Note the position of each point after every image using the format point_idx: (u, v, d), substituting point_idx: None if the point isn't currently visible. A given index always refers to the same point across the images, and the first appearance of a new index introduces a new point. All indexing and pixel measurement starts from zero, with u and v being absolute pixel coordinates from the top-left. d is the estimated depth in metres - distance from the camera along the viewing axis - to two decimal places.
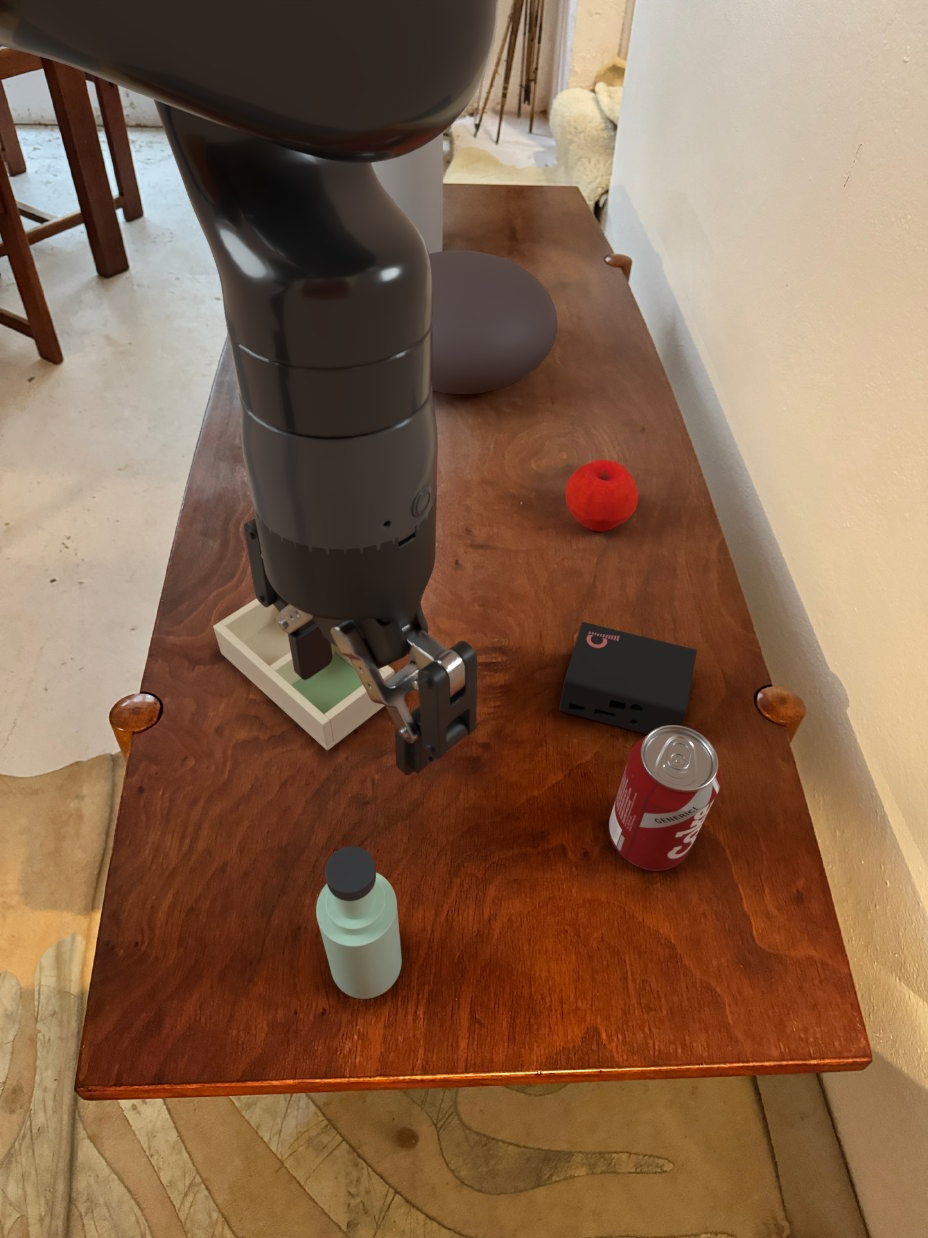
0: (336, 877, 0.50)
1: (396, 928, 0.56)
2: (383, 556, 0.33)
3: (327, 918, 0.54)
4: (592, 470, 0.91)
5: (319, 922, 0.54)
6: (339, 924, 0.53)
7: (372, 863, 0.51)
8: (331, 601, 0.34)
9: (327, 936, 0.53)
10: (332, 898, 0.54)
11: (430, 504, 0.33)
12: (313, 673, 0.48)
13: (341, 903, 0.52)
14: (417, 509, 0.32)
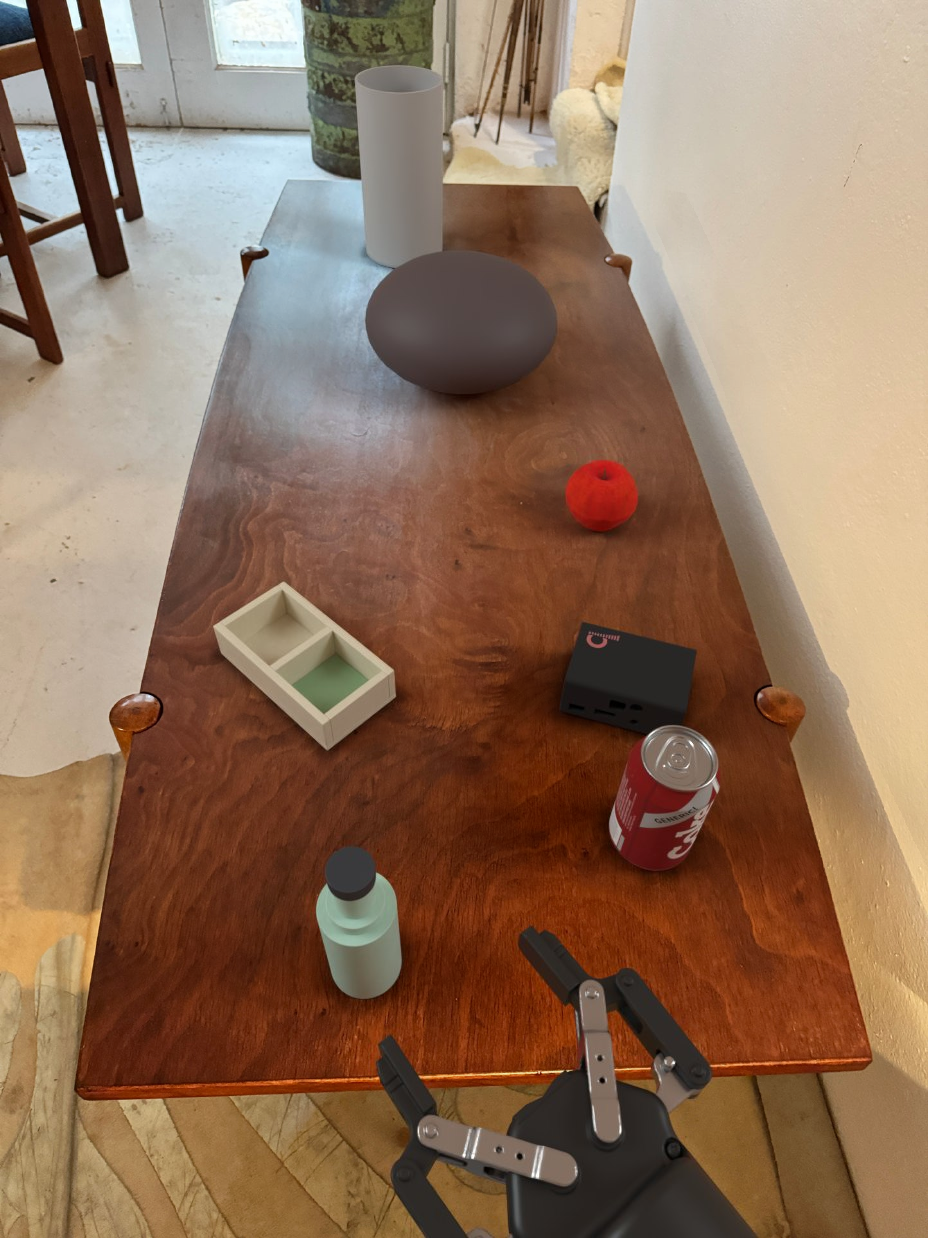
0: (336, 877, 0.50)
1: (396, 928, 0.56)
2: None
3: (327, 918, 0.54)
4: (592, 470, 0.91)
5: (319, 922, 0.54)
6: (339, 924, 0.53)
7: (372, 863, 0.51)
8: None
9: (327, 936, 0.53)
10: (332, 898, 0.54)
11: None
12: (521, 939, 0.43)
13: (341, 903, 0.52)
14: None
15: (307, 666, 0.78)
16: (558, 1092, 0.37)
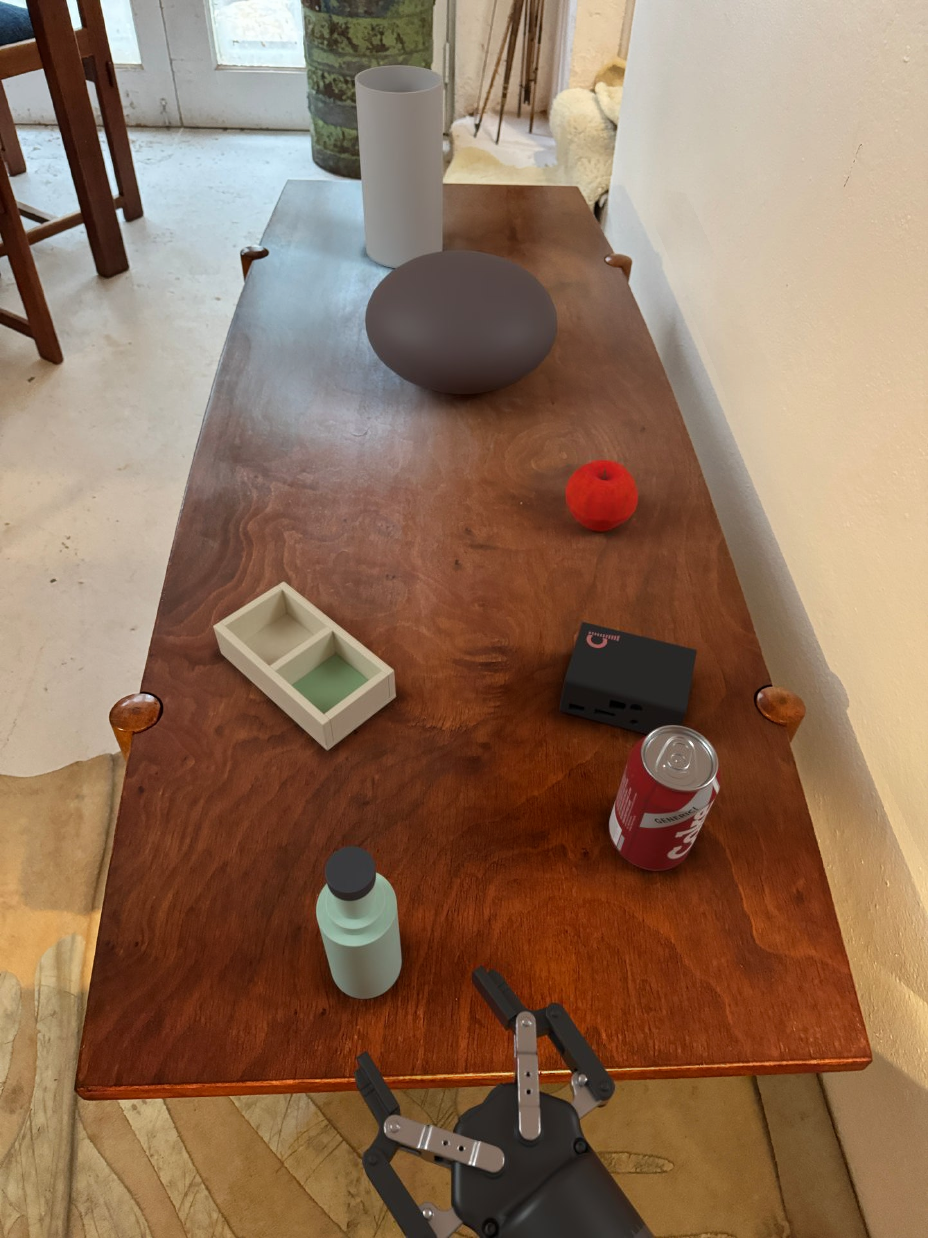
0: (336, 877, 0.50)
1: (396, 928, 0.56)
2: None
3: (327, 918, 0.54)
4: (592, 470, 0.91)
5: (319, 922, 0.54)
6: (339, 924, 0.53)
7: (372, 863, 0.51)
8: None
9: (327, 936, 0.53)
10: (332, 898, 0.54)
11: None
12: (473, 976, 0.54)
13: (341, 903, 0.52)
14: None
15: (307, 666, 0.78)
16: (494, 1100, 0.48)
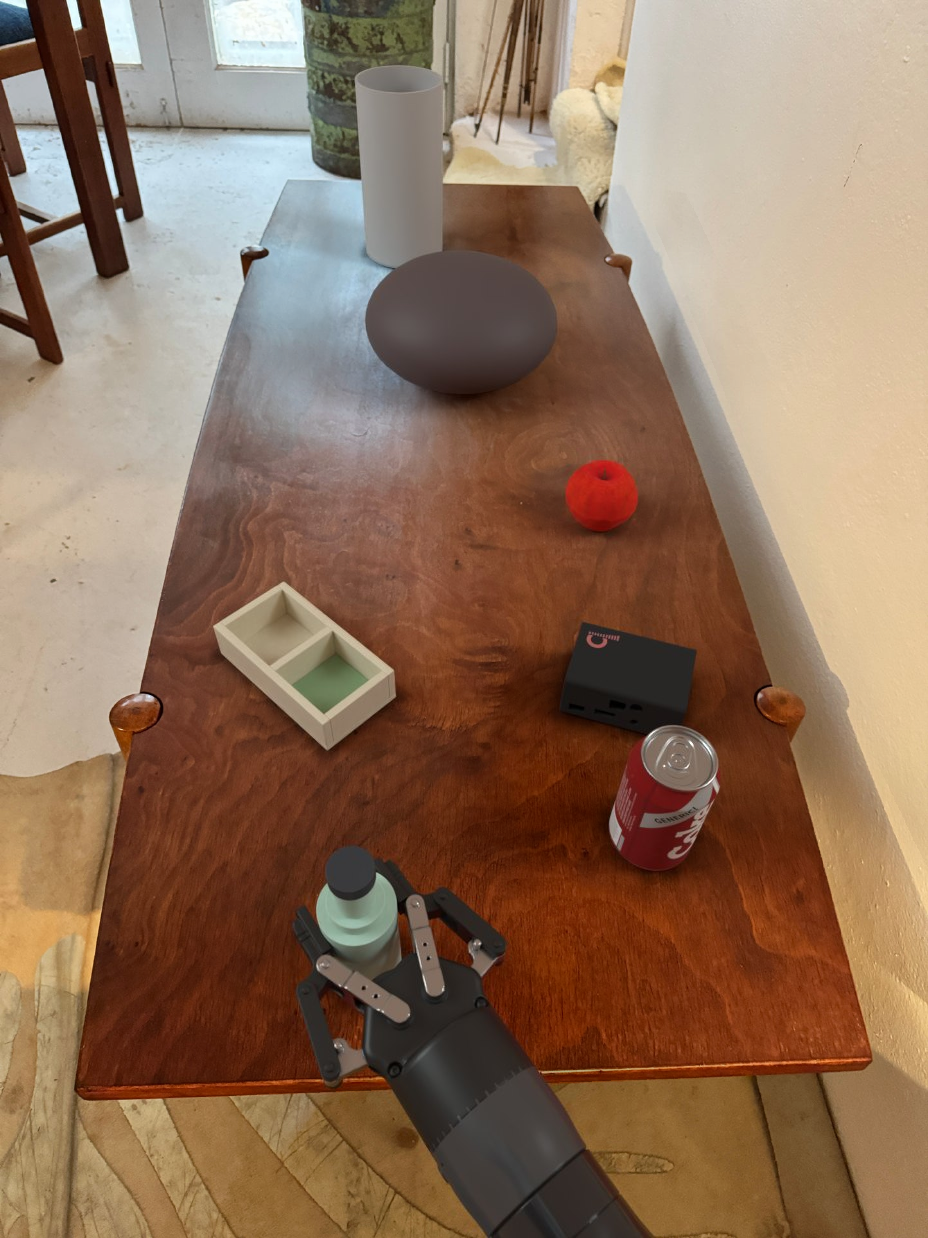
0: (336, 876, 0.50)
1: (396, 928, 0.56)
2: (427, 1138, 0.47)
3: (327, 918, 0.54)
4: (592, 470, 0.91)
5: (319, 922, 0.54)
6: (339, 924, 0.53)
7: (372, 862, 0.51)
8: (422, 1080, 0.47)
9: (327, 936, 0.53)
10: (332, 898, 0.54)
11: None
12: None
13: (341, 902, 0.52)
14: None
15: (307, 666, 0.78)
16: (405, 965, 0.53)
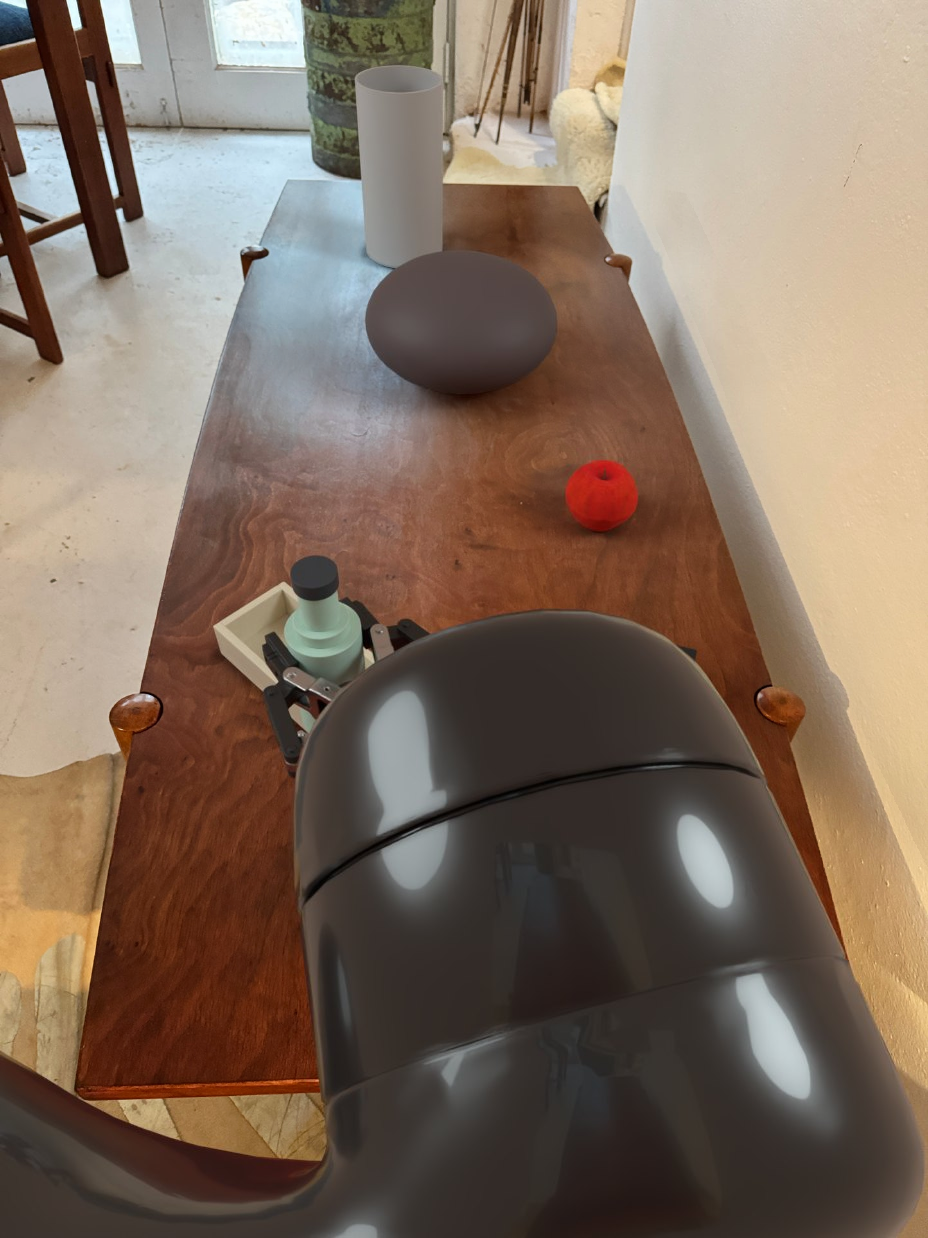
0: (300, 576, 0.53)
1: (361, 655, 0.59)
2: None
3: (294, 636, 0.57)
4: (592, 470, 0.91)
5: (286, 639, 0.57)
6: (305, 635, 0.56)
7: (335, 567, 0.54)
8: None
9: (294, 650, 0.56)
10: (299, 616, 0.57)
11: None
12: None
13: (306, 608, 0.54)
14: None
15: None
16: None
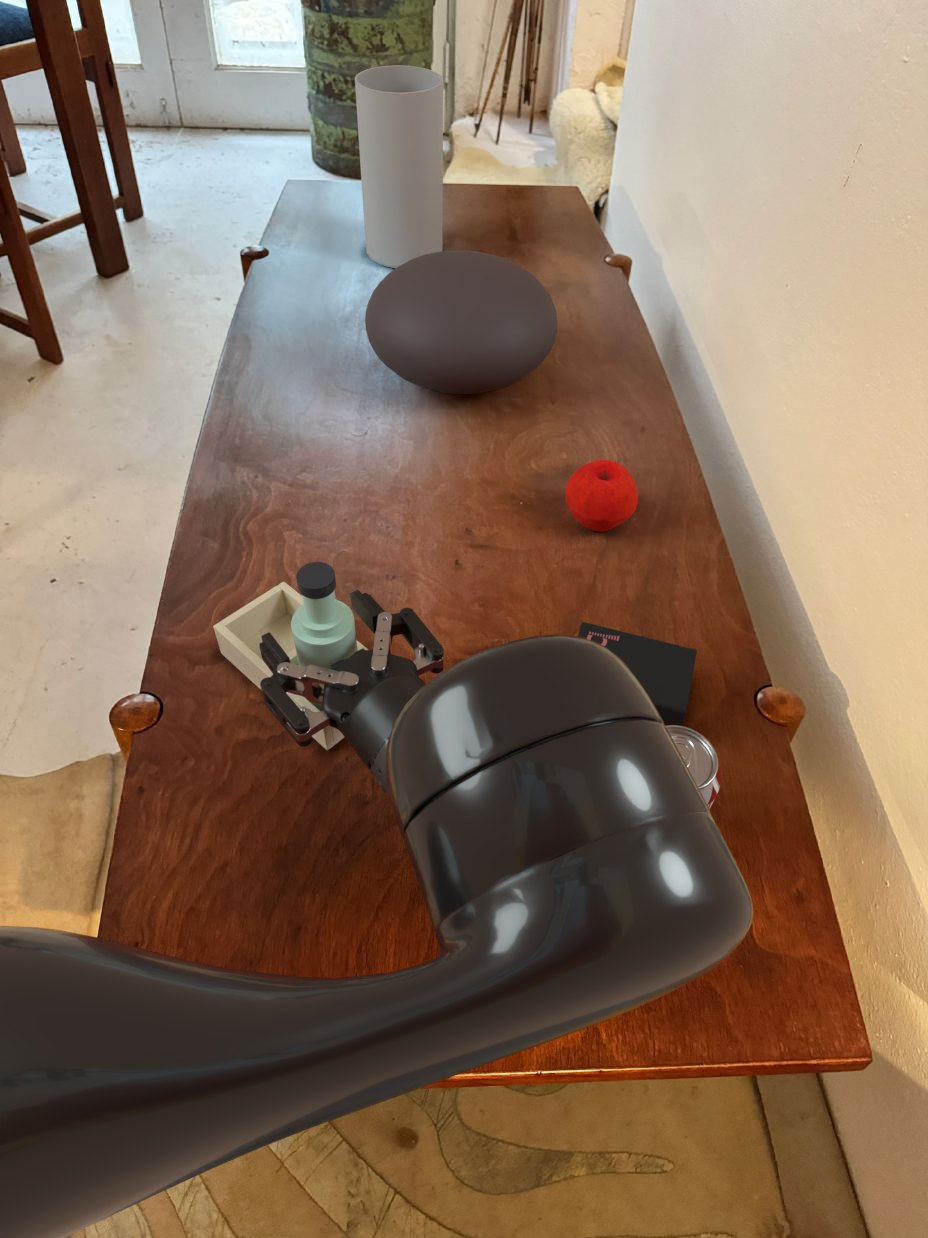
0: (305, 579, 0.66)
1: (354, 643, 0.71)
2: (368, 755, 0.62)
3: (299, 627, 0.70)
4: (592, 470, 0.91)
5: (293, 630, 0.69)
6: (308, 627, 0.68)
7: (332, 571, 0.66)
8: (365, 713, 0.62)
9: (299, 639, 0.69)
10: (303, 611, 0.69)
11: None
12: (351, 598, 0.74)
13: (309, 604, 0.67)
14: (379, 784, 0.62)
15: None
16: (357, 656, 0.68)
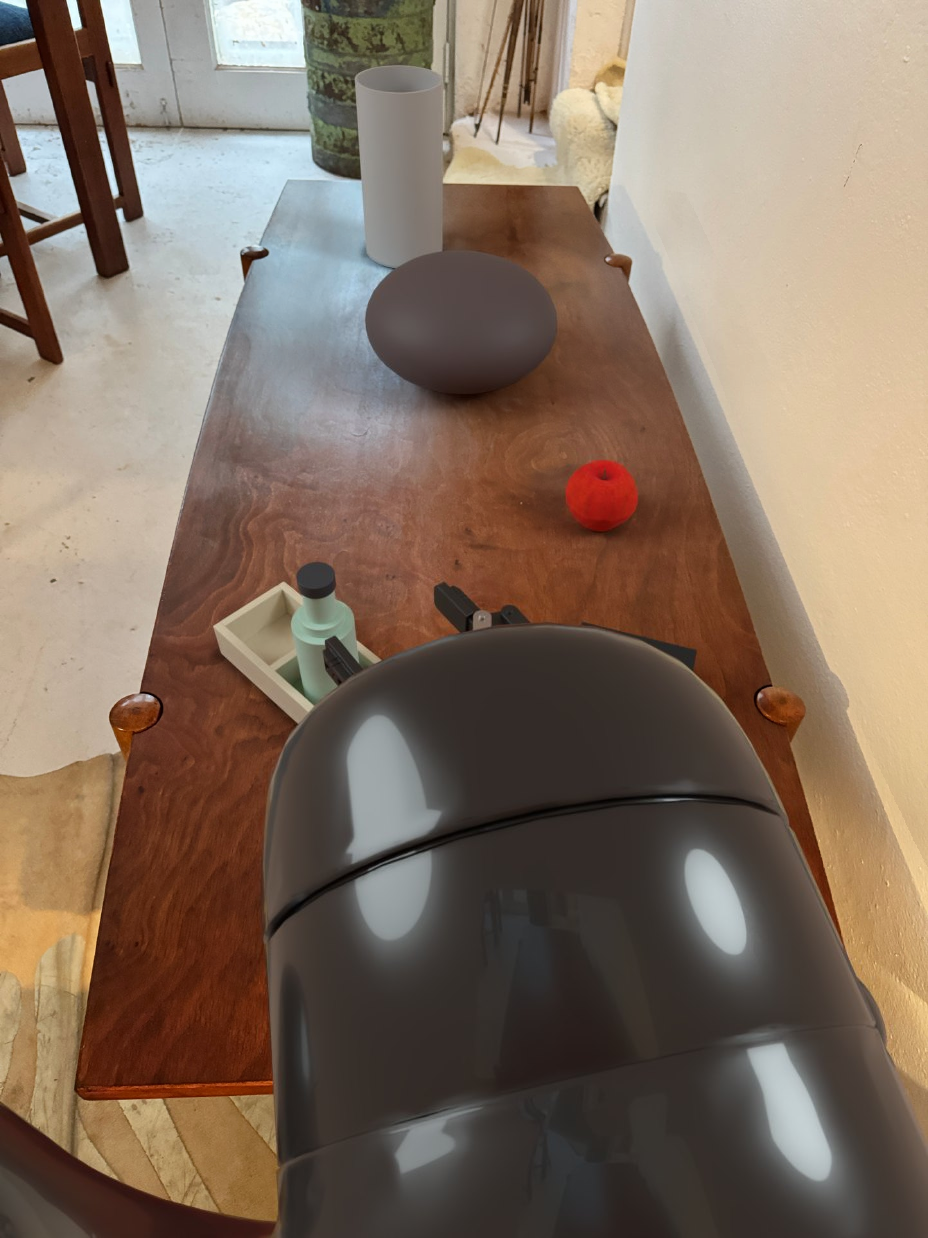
0: (305, 579, 0.66)
1: (354, 643, 0.71)
2: None
3: (299, 627, 0.70)
4: (592, 470, 0.91)
5: (293, 630, 0.69)
6: (308, 627, 0.68)
7: (332, 571, 0.66)
8: None
9: (299, 639, 0.69)
10: (303, 611, 0.69)
11: None
12: (435, 592, 0.58)
13: (309, 604, 0.67)
14: None
15: None
16: None
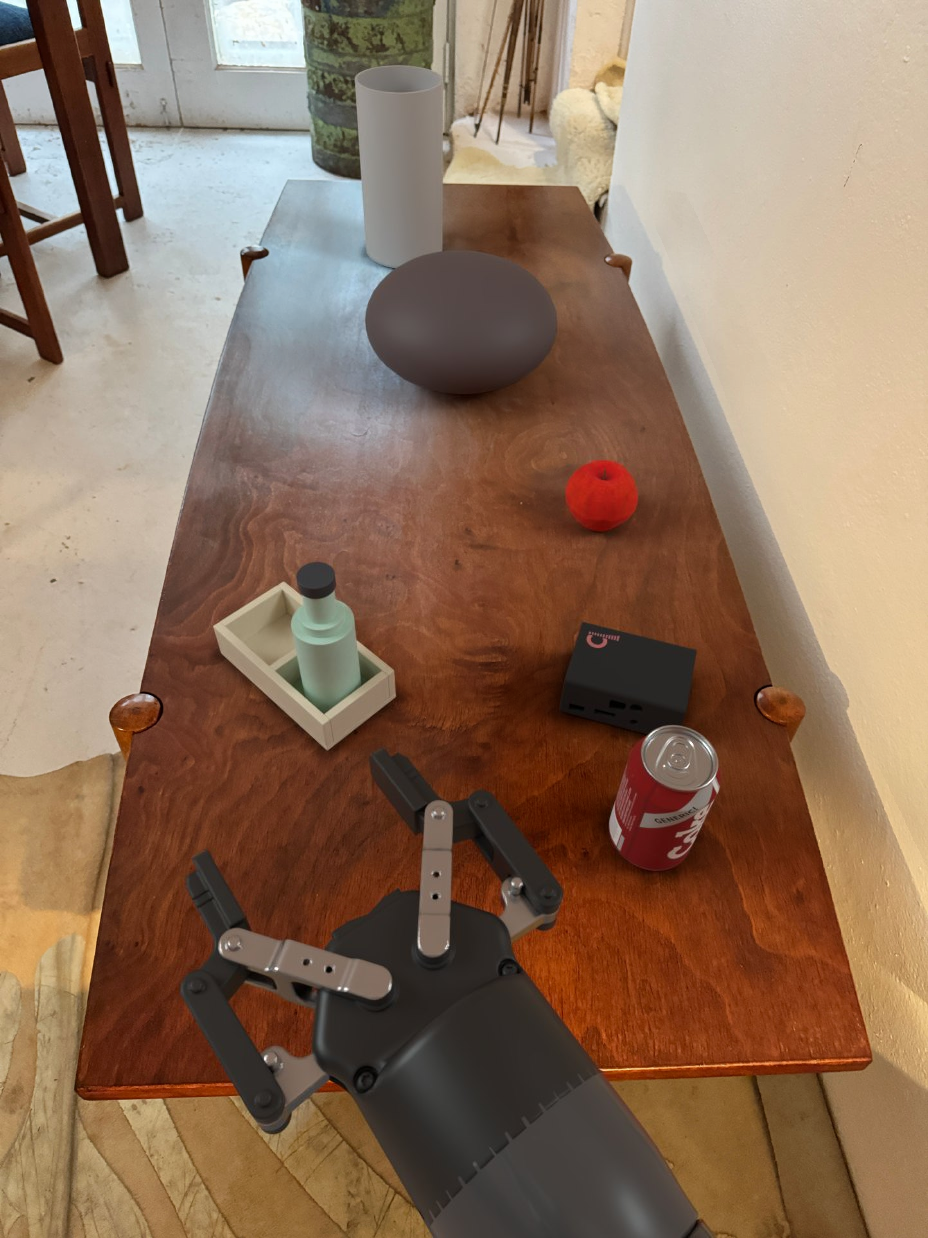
0: (305, 579, 0.66)
1: (354, 643, 0.71)
2: (419, 1199, 0.27)
3: (299, 627, 0.70)
4: (592, 470, 0.91)
5: (293, 630, 0.69)
6: (308, 627, 0.68)
7: (332, 571, 0.66)
8: (411, 1097, 0.27)
9: (299, 639, 0.69)
10: (303, 611, 0.69)
11: None
12: (371, 763, 0.38)
13: (309, 604, 0.67)
14: None
15: None
16: (386, 909, 0.33)
